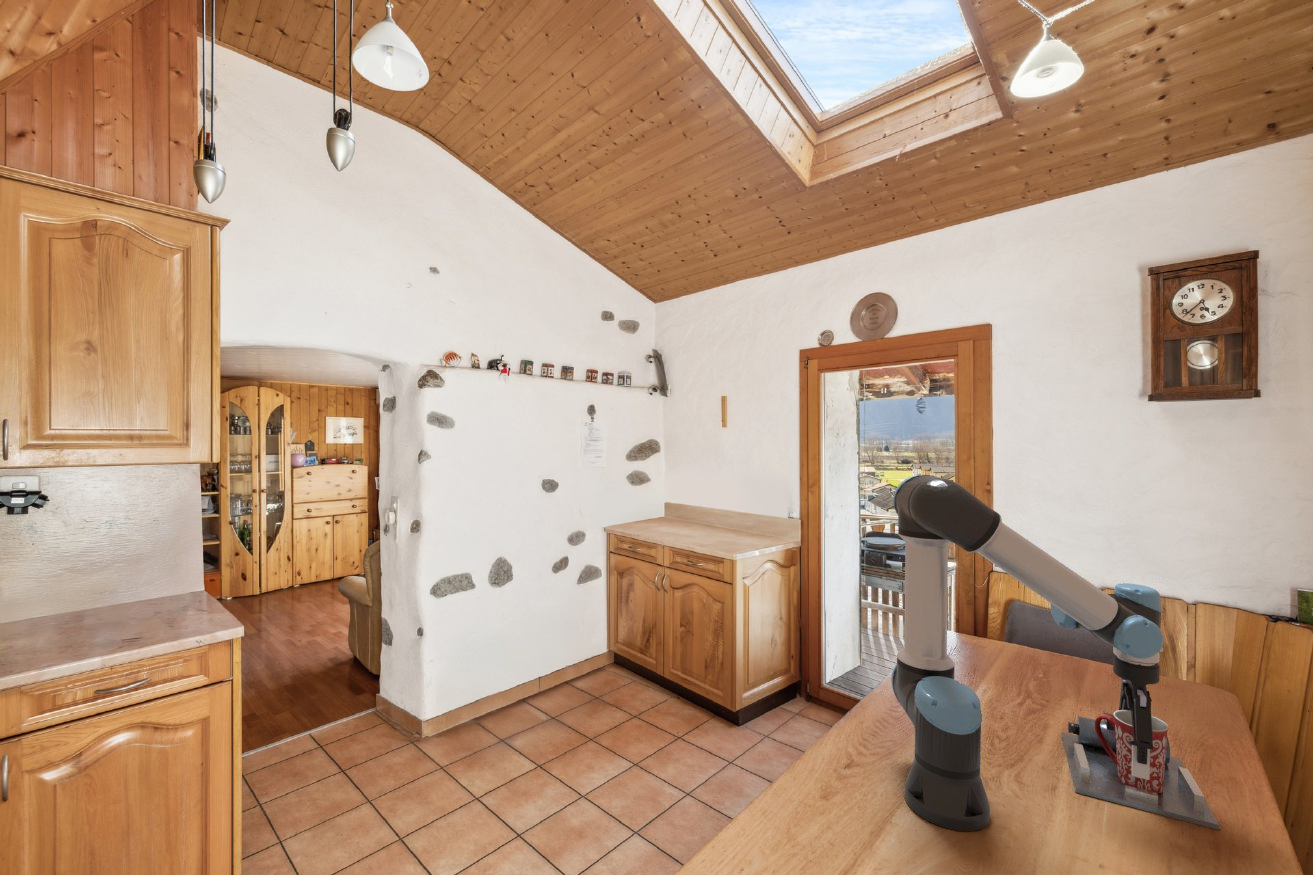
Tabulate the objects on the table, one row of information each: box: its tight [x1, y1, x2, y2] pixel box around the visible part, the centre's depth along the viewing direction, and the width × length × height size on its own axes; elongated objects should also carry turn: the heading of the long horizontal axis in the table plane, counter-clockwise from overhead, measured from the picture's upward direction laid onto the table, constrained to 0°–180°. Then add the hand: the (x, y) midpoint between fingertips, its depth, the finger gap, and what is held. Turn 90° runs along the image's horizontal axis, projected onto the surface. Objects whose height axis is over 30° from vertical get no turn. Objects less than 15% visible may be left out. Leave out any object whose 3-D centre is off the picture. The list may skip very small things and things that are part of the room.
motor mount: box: [1060, 712, 1220, 831], centre depth 125 cm, size 26×22×8 cm
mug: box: [1094, 709, 1170, 794], centre depth 122 cm, size 13×9×14 cm
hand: (1134, 763), depth 121 cm, fingers open, 11 cm apart
